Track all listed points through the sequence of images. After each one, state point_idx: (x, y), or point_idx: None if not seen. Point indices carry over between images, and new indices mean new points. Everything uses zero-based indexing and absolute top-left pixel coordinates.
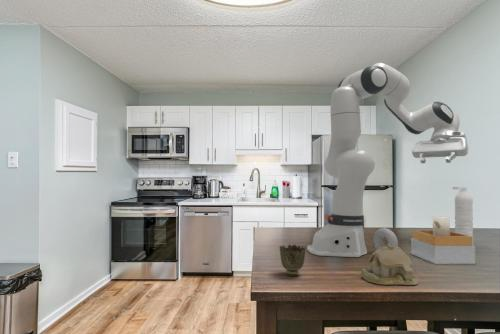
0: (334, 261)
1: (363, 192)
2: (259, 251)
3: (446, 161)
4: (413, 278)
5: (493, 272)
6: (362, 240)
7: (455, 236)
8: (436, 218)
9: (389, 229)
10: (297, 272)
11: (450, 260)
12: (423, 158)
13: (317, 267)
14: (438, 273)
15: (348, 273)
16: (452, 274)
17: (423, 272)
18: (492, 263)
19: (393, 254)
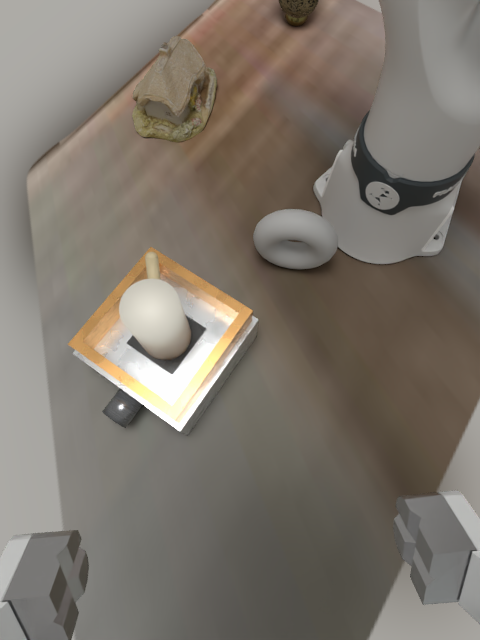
0: (319, 125)
1: (400, 78)
2: None
3: (76, 543)
4: (141, 120)
5: (44, 313)
6: (338, 197)
7: (108, 299)
8: (157, 280)
9: (285, 219)
10: (285, 15)
11: None
12: (441, 533)
13: (305, 73)
14: (131, 209)
15: (245, 86)
16: (108, 224)
17: (155, 192)
18: (58, 417)
19: (158, 58)
